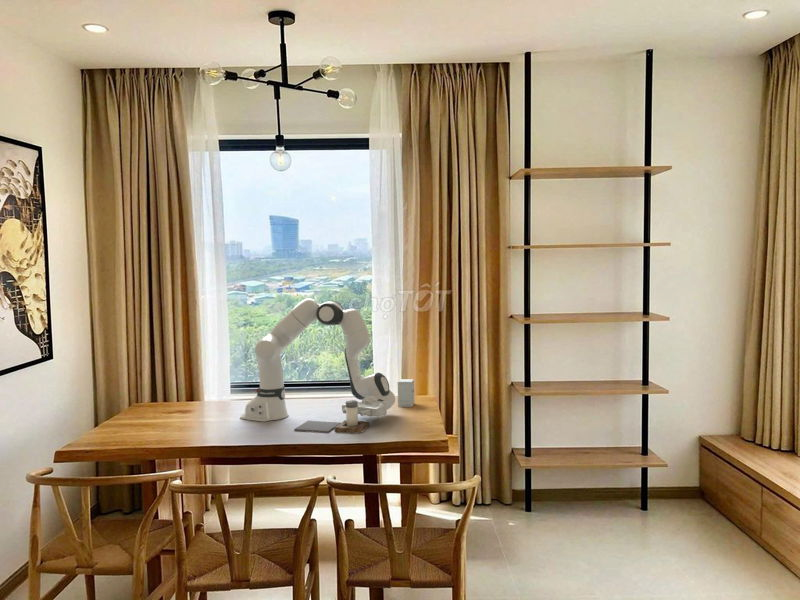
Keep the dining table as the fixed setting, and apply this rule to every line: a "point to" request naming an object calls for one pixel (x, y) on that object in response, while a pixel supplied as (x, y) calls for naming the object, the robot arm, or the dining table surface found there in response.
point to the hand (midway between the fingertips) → (352, 412)
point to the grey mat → (317, 426)
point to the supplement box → (405, 392)
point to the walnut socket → (344, 428)
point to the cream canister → (352, 413)
